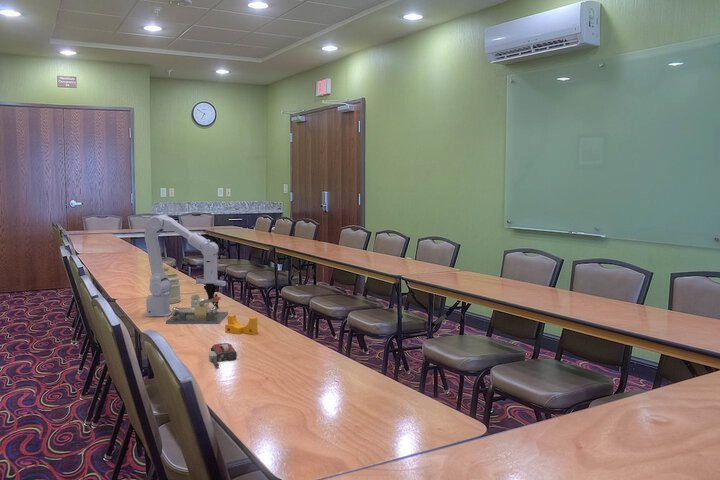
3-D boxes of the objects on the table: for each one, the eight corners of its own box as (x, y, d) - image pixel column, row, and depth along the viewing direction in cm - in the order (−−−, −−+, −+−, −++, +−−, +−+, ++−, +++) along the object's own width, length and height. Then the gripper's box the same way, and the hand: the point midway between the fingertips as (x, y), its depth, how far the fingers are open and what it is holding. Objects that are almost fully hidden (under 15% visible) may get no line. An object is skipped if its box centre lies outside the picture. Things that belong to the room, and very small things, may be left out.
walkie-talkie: (205, 353, 206) (214, 370, 187) (204, 340, 205) (213, 356, 187) (230, 350, 209) (241, 366, 190) (230, 338, 208) (241, 353, 190)
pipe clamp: (225, 332, 232) (224, 316, 231) (231, 330, 236) (231, 314, 235) (251, 336, 227) (251, 319, 227) (257, 333, 231) (257, 317, 231)
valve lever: (201, 305, 252) (201, 300, 252) (198, 305, 253) (198, 300, 253) (220, 301, 261) (220, 296, 260) (217, 301, 262) (217, 296, 262)
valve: (191, 311, 269) (218, 309, 274) (191, 297, 269) (218, 295, 273) (190, 308, 275) (216, 306, 280) (189, 294, 275) (216, 292, 279)
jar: (185, 301, 290) (184, 266, 288) (161, 305, 281) (160, 268, 279) (172, 298, 299) (171, 263, 297) (147, 301, 290) (146, 266, 288)
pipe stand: (165, 323, 245) (165, 309, 245) (178, 314, 263) (177, 300, 263) (219, 323, 246) (218, 309, 245) (227, 313, 264) (227, 300, 263)
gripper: (191, 270, 257) (191, 301, 259) (218, 272, 252) (219, 304, 253) (201, 268, 264) (202, 298, 265) (228, 270, 258) (229, 301, 259)
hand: (211, 301), depth 259 cm, fingers closed, pressing on valve lever
